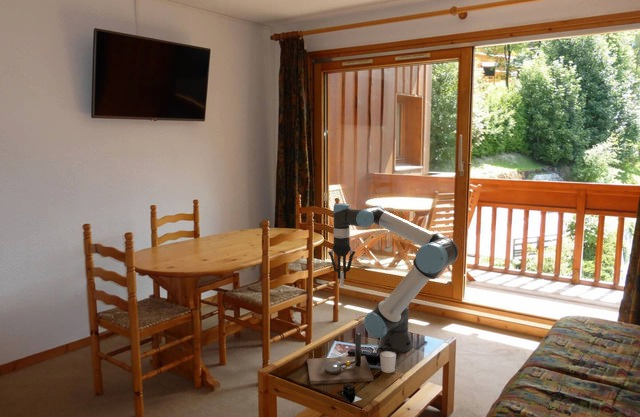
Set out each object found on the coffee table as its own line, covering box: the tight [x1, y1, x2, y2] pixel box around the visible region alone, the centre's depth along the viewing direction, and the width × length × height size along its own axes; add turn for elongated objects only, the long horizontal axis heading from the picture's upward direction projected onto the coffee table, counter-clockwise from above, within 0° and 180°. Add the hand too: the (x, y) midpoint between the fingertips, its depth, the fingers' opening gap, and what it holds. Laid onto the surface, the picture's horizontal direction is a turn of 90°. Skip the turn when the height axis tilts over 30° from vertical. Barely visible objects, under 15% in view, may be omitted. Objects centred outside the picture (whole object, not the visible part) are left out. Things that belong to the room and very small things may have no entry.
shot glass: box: [379, 350, 397, 374], centre depth 208 cm, size 7×7×7 cm
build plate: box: [336, 382, 363, 404], centre depth 188 cm, size 12×7×5 cm, turn 32°
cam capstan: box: [324, 332, 362, 374], centre depth 205 cm, size 17×7×14 cm, turn 114°
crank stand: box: [306, 355, 375, 385], centre depth 208 cm, size 26×20×2 cm
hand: (341, 285), depth 231 cm, fingers closed
